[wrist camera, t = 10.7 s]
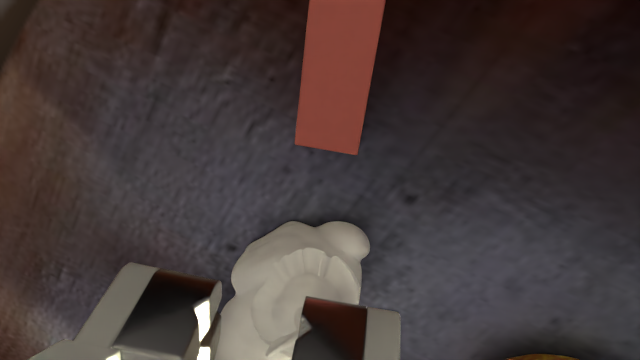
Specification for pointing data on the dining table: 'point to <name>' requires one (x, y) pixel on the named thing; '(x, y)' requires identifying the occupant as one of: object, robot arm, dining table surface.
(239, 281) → the white figurine
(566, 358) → the fruit
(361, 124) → the red rectangular block
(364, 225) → the dining table surface
